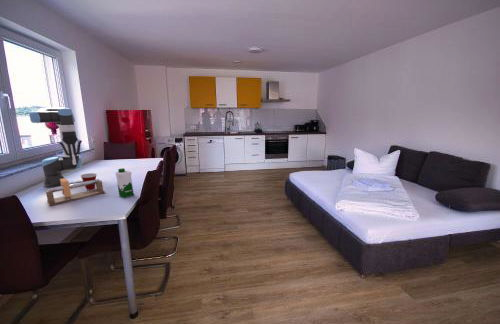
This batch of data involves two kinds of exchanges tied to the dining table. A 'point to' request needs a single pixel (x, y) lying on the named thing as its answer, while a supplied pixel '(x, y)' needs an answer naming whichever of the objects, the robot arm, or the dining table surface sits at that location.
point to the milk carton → (124, 183)
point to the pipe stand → (74, 195)
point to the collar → (65, 187)
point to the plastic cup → (88, 178)
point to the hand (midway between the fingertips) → (74, 164)
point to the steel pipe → (75, 185)
